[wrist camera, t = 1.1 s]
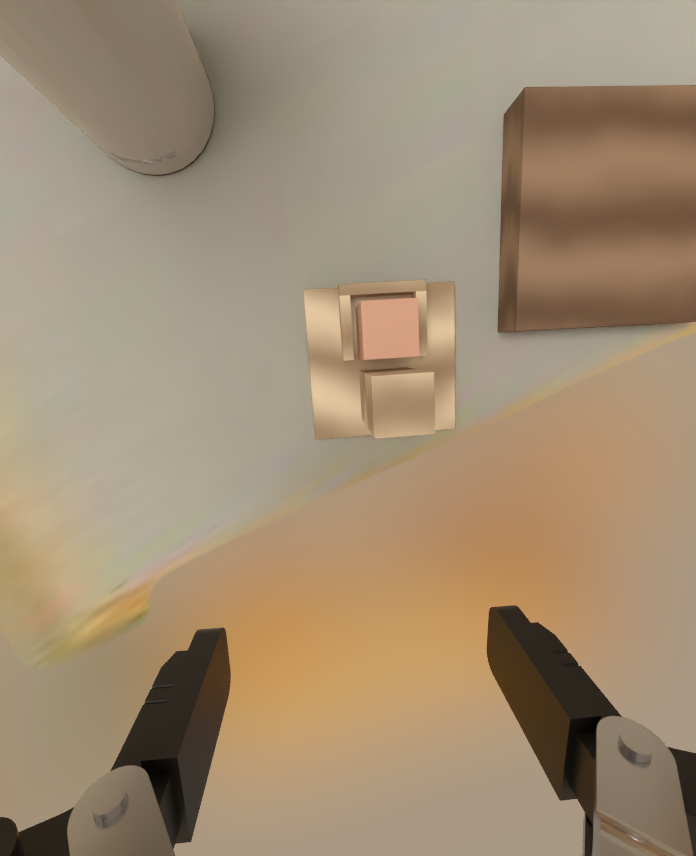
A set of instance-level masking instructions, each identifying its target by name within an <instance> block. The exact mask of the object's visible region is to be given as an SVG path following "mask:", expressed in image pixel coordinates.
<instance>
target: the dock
mask: <svg viewBox="0 0 696 856" xmlns="http://www.w3.org/2000/svg"><path fill="white" fill-rule="evenodd" d="M684 322H696V85H670V86H584V87H525V88H524V89H523V91H522V92H521V93H520V94H519V96H518V97H517V98H516V100H515V101H514V102H513V104H512V105H511V106H510V107H509V109H508V110H507V111H506V113H505V114H504V130H503V166H502V202H501V238H500V274H499V309H498V332H513V331H533V330H552V329H571V328H591V327H610V326H630V325H649V324H669V323H684Z"/></svg>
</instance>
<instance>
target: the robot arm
mask: <svg viewBox="0 0 696 856" xmlns="http://www.w3.org/2000/svg"><path fill="white" fill-rule="evenodd" d="M0 55H1V56H2V57H3V58H4V59H5V60H6V61H7V62H8V63H9V64H11V65H12V66H13V67H14V68H15V69H16V70H17V71H18V72H19V73H20V74H21V75H22V76H23V77H25V78H26V79H27V80H28V81H29V82H30V83H31V84H32V85H33V86H34V87H35V88H36V89H37V90H39V91H40V92H41V93H42V94H43V95H44V96H45V97H46V98H47V99H48V100H49V101H50V102H51V103H53V104H54V105H55V106H56V107H57V108H58V109H59V110H60V111H61V112H62V113H63V114H64V115H65V116H67V117H68V118H69V119H70V120H71V121H72V122H73V123H74V124H75V125H76V126H77V127H78V128H79V129H80V130H82V131H83V132H84V133H85V134H86V135H87V136H88V137H89V138H90V139H91V140H92V141H93V142H94V143H96V144H97V145H98V146H99V147H100V148H101V149H102V150H103V151H104V152H105V153H107V154H108V155H109V156H110V157H111V158H112V159H114V160H115V161H116V162H117V163H119V164H121V165H123V166H125V167H126V168H128V169H130V170H133V171H136V172H140V173H143V174H152V175H161V174H168V173H173V172H175V171H178V170H180V169H183V168H184V167H186V166H187V165H188V164H190V163H191V162H193V161H194V160H195V159H196V158H197V156H198V155H199V154H200V153H201V152H202V151H203V149H204V147H205V145H206V143H207V141H208V139H209V137H210V134H211V130H212V126H213V120H214V101H213V93H212V90H211V86H210V83H209V80H208V77H207V74H206V72H205V69H204V67H203V65H202V62H201V60H200V57H199V55H198V52H197V50H196V47H195V45H194V43H193V40H192V38H191V35H190V32H189V30H188V28H187V25H186V23H185V20H184V18H183V15H182V13H181V11H180V8H179V6H178V3H177V1H176V0H0ZM228 655H229V654H228V646H227V638H226V631H225V629H224V628H213V629H201V630H197V631H196V633H195V635H194V637H193V640H192V642H191V644H190V647H189V649H188V651H177V652H175V654H174V655H173V656H172V657H171V658H170V659H169V660H168V661H167V662H166V663H165V664H164V665H163V666H162V667H161V669H160V671H159V673H158V675H157V677H156V679H155V681H154V684H153V686H152V689H151V690H150V692H149V694H148V696H147V698H146V700H145V704H144V705H143V706H142V708H141V710H140V712H139V714H138V716H137V719H136V720H135V722H134V725H133V727H132V729H131V731H130V733H129V735H128V737H127V739H126V741H125V743H124V745H123V747H122V749H121V751H120V753H119V755H118V757H117V759H116V761H115V763H114V765H113V767H112V769H111V771H110V772H108V773H107V774H105V775H103V776H102V777H101V778H99V779H98V780H97V781H95V782H94V783H93V784H92V785H91V786H90V787H89V788H88V789H87V790H86V791H85V792H84V794H83V795H82V796H81V797H80V799H79V800H78V802H77V803H76V805H75V807H73V808H72V809H70V810H68V811H66V812H64V813H62V814H60V815H58V816H56V817H53V818H51V819H49V820H46V821H44V822H42V823H39V824H37V825H35V826H33V827H30V828H28V829H25V830H23V831H21V832H18V830H17V827H16V824H15V823H14V822H13V821H12V820H11V819H9V818H4V817H0V856H175V854H174V851H173V849H174V845H175V844H176V843H185V842H191V840H192V836H193V832H194V828H195V824H196V820H197V816H198V812H199V809H200V805H201V801H202V797H203V793H204V789H205V785H206V781H207V777H208V773H209V769H210V766H211V762H212V758H213V754H214V750H215V746H216V742H217V739H218V735H219V731H220V727H221V723H222V719H223V715H224V711H225V707H226V703H227V700H228V695H229V690H230V678H231V677H230V676H231V675H230V664H229V656H228ZM487 657H488V662H489V665H490V668H491V671H492V673H493V675H494V677H495V679H496V681H497V683H498V685H499V687H500V688H501V690H502V692H503V694H504V696H505V698H506V700H507V702H508V703H509V705H510V707H511V709H512V711H513V713H514V715H515V717H516V719H517V720H518V722H519V724H520V726H521V728H522V730H523V732H524V734H525V735H526V737H527V739H528V741H529V743H530V745H531V747H532V749H533V751H534V753H535V754H536V756H537V758H538V760H539V762H540V764H541V766H542V767H543V769H544V771H545V773H546V775H547V777H548V779H549V781H550V783H551V785H552V787H553V788H554V790H555V792H556V794H557V796H558V798H559V800H569V799H578V801H579V803H580V804H581V806H582V808H583V810H584V811H585V813H584V821H583V853H582V856H696V753H691V752H687V751H682V750H678V749H673V748H670V747H667V746H666V745H665V743H664V742H663V741H662V740H661V739H660V738H659V737H658V736H656V735H655V734H654V733H653V732H652V731H650V730H649V729H647V728H646V727H644V726H643V725H641V724H639V723H637V722H635V721H633V720H630V719H627V718H624V717H622V716H621V715H620V714H619V713H618V711H617V710H616V709H615V708H614V707H613V705H612V704H611V703H610V702H609V701H608V699H607V698H606V697H605V696H604V694H603V693H602V692H601V691H600V689H599V688H598V687H597V686H596V685H595V683H594V682H593V681H592V680H591V679H590V677H589V676H588V675H587V674H586V672H585V671H584V670H583V669H582V667H581V666H578V662H577V661H576V660H575V659H574V658H573V656H572V655H571V654H570V653H568V652H567V649H566V648H565V647H564V645H563V644H562V643H561V642H560V640H559V639H558V638H557V637H556V636H555V635H554V634H553V633H552V632H550V631H549V630H547V629H546V628H545V627H543V626H542V625H541V624H539V623H530V622H529V620H528V619H527V618H526V616H525V615H524V614H523V612H522V611H521V610H520V609H519V607H517V606H515V605H514V606H501V607H491V608H490V611H489V621H488V637H487Z"/></svg>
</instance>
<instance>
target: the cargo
mask: <svg viewBox="0 0 696 856" xmlns="http://www.w3.org/2000/svg"><path fill="white" fill-rule="evenodd" d="M355 309H356V326H357V343H358V359H361V360H370V359H385V358H400V357H415V356H420V354H419V315H418V298H403V299H386V300H369V301H360V303H359V304H358V305H357V307H356V308H355Z"/></svg>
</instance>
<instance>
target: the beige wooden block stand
mask: <svg viewBox="0 0 696 856" xmlns="http://www.w3.org/2000/svg"><path fill="white" fill-rule="evenodd" d="M303 293H304V305H305V317H306V329H307V341H308V353H309V365H310V377H311V389H312V401H313V413H314V425H315V437H316V439H329V438H341V437H354V436H367V435H372V436H373V437H374V439H377V438H389V437H402V436H415V435H427V434H435V430H444V429H455V317H454V281H452V282H434V283H426V280H410V281H392V282H374V283H356V284H339V285H338V288H326V289H308V290H303ZM403 298H418V315H419V354H420V356H415V357H400V358H385V359H370V360H361V359H358V343H357V326H356V309H355V308H356V307H357V305H358V304H359V303H360V301H369V300H386V299H403Z"/></svg>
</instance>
